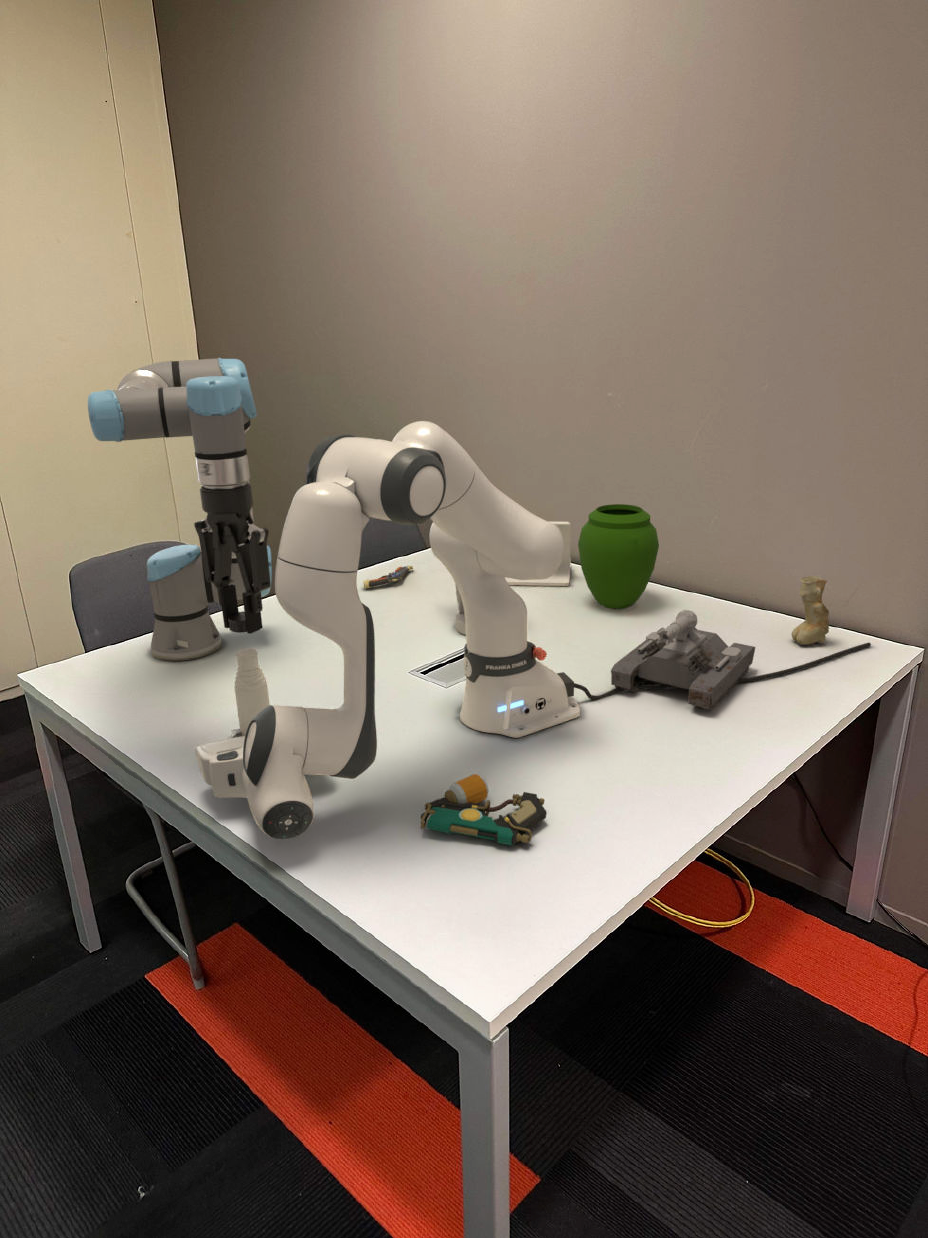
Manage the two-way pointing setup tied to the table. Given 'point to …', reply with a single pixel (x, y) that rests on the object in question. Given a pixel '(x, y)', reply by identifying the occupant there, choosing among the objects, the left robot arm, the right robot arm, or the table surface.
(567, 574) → the tablet stand
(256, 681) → the bottle
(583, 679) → the table surface
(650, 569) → the vase
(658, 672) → the toy
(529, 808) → the spray gun
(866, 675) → the table surface
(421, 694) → the table surface
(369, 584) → the toy gun
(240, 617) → the cap
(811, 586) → the sculpture
